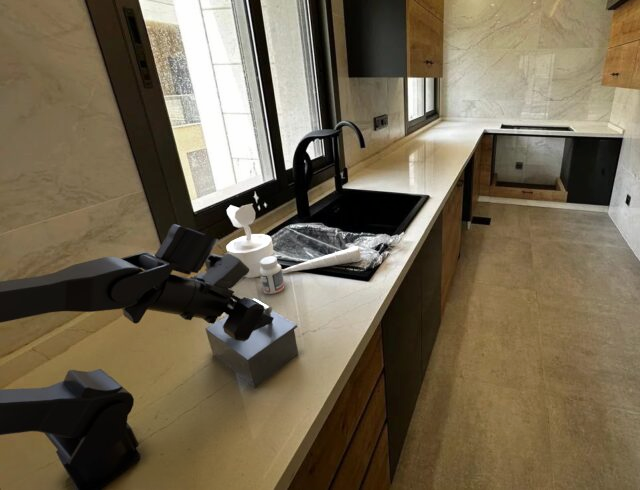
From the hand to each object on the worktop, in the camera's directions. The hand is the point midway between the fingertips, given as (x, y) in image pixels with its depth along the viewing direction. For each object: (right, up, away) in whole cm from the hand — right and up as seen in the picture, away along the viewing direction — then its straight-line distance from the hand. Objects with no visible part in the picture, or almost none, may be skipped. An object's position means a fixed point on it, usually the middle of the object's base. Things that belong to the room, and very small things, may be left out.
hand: (258, 311), depth 66 cm
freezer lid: (-1, -3, 0) cm, 3 cm away
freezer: (-1, -9, +2) cm, 10 cm away
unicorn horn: (+3, +3, +33) cm, 33 cm away
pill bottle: (-7, -1, +23) cm, 24 cm away
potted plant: (-16, +2, +30) cm, 34 cm away
